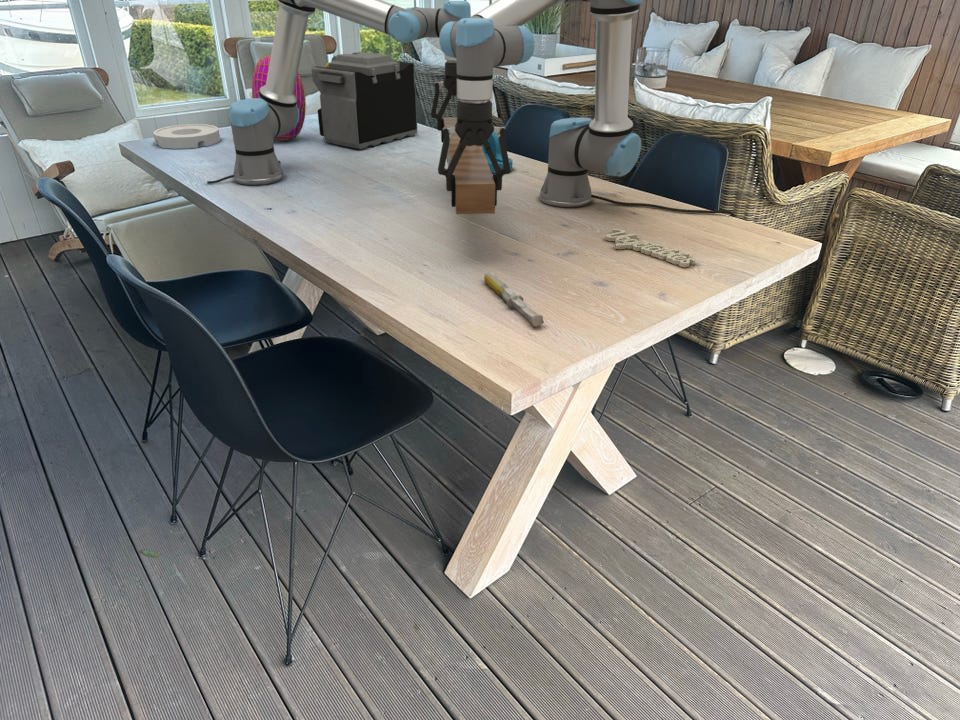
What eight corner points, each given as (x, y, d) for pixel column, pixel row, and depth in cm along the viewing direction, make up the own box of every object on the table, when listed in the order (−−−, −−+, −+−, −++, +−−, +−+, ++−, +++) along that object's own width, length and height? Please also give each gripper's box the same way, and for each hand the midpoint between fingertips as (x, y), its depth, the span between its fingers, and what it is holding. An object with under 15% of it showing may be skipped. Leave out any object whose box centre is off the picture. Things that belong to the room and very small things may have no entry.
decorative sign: (591, 236, 174) (616, 227, 180) (591, 240, 174) (616, 231, 180) (679, 267, 157) (703, 256, 163) (678, 271, 158) (703, 260, 163)
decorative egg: (293, 132, 276) (283, 50, 261) (319, 140, 264) (310, 56, 249) (249, 139, 265) (236, 54, 250) (273, 148, 253) (261, 60, 238)
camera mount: (462, 163, 238) (462, 131, 233) (487, 158, 243) (487, 128, 238) (493, 175, 225) (494, 142, 220) (518, 170, 230) (519, 138, 225)
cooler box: (381, 126, 286) (376, 48, 271) (421, 134, 275) (419, 52, 260) (314, 143, 261) (305, 57, 245) (356, 151, 250) (349, 62, 234)
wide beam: (494, 213, 153) (495, 183, 150) (456, 214, 152) (455, 184, 149) (471, 139, 214) (471, 117, 210) (443, 140, 213) (443, 117, 210)
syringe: (480, 279, 152) (480, 268, 151) (495, 277, 153) (495, 266, 152) (526, 330, 132) (527, 317, 131) (544, 326, 134) (545, 314, 132)
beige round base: (171, 134, 271) (168, 123, 269) (229, 135, 270) (227, 124, 268) (144, 148, 251) (141, 136, 249) (207, 149, 251) (205, 138, 249)
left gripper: (493, 59, 202) (491, 138, 213) (420, 59, 200) (422, 138, 212) (496, 63, 195) (494, 144, 207) (420, 62, 194) (422, 144, 205)
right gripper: (522, 96, 149) (518, 198, 160) (423, 97, 147) (426, 200, 159) (527, 103, 142) (522, 209, 154) (423, 103, 141) (427, 210, 152)
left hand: (458, 141), depth 209 cm, fingers closed on wide beam, 9 cm apart
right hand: (473, 204), depth 156 cm, fingers closed on wide beam, 9 cm apart
